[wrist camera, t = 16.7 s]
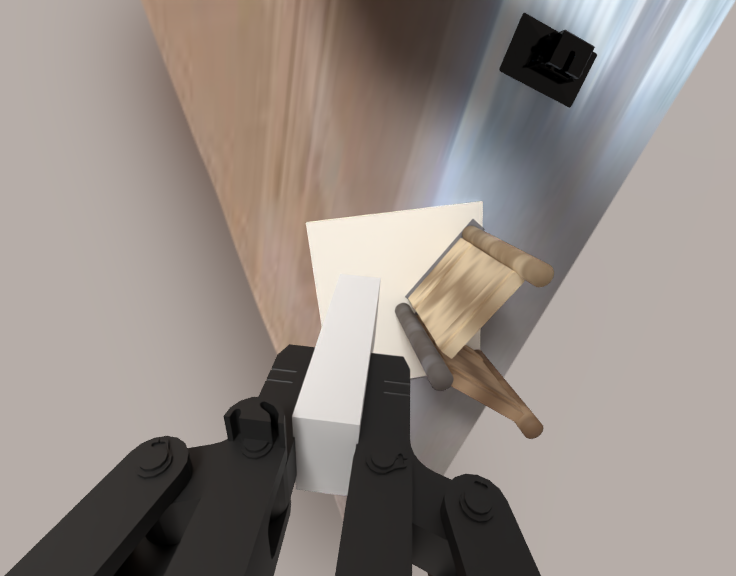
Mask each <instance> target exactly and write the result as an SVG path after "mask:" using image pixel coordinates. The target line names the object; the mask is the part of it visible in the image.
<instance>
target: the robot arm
mask: <svg viewBox="0 0 736 576" xmlns="http://www.w3.org/2000/svg"><path fill="white" fill-rule="evenodd" d="M380 281H381V278H375V277H366V276H356V275H347V274H340V275H339V278H338V281H337V284H336V287H335V290H334V293H333V296H332V299H331V302H330V305H329V308H328V311H327V314H326V317H325V320H324V323H323V326H322V329H321V332H320V335H319V338H318V341H317V344H316V347H307V346H298V345H290V344H289V345H288V346H287V347H286V348H285V349H284V350H282V351H281V352H280V353H279V354H278V355H277V357H276V359H275V362H274V364H273V366H272V370H271V371H270V373H269V375H268V377H267V381H265V384H264V386H263V388H262V390H261V393H260V395H259V397H251V398H248V399H245V400H241V401H239V402H238V403H236V404H235V405H233V406H232V407H230V409H229V410H228V411H227V413H226V414H225V415H224V421H225V425H226V431H227V436H228V439H227V440H225V441H222V442H220V443H215V444H211V445H205V446H199V447H192V448H187V447H186V444H185V443H184V442H183V441H181V440H180V439H178V438H176V437H170V436H164V437H157V438H153V439H151V440H148V441H146V442H144V443H142V444H140V445H139V446H138V447H136V448H135V449H134V450H132V451H131V452H130V453H129V454H128V455H127V456H126V457H125V458H124V459H123V460H122V461H121V462H120V463H119V464H118V465H117V466H116V467H115V468H114V469H113V470H112V471H111V472H110V473H109V474H108V475H107V476H105V477H104V478H103V479H102V481H100V482H99V483H98V484H97V485H96V486H95V487H94V488H93V489H92V490H91V491H90V492H89V493H88V494H87V495H86V496H85V497H84V498H83V499H82V500H81V501H80V502H79V503H78V504H77V505H76V506H75V507H74V508H73V509H72V510H71V511H70V512H69V513H68V514H67V515H66V516H65V517H64V518H63V519H62V520H61V521H60V522H59V523H58V524H57V525H56V526H55V527H54V528H53V529H52V530H51V531H50V532H48V534H46V535H45V537H43V538H42V539H41V540H40V541H39V542H38V543H37V544H36V545H35V546H34V547H33V548H32V549H31V550H30V551H29V552H28V553H27V554H26V555H25V556H24V557H23V558H22V559H21V560H20V561H19V562H18V563H17V564H16V565H15V566H14V567H13V568H12V569H11V570H10V571H9V572H8V573H7V574H6V575H5V576H274V572H275V569H276V565H277V561H278V557H279V554H280V550H281V546H282V542H283V538H284V535H285V531H286V527H287V524H288V519H289V516H290V510H291V494H292V490H293V487H294V483H295V480H296V489H298V490H305V491H314V492H320V493H328V494H335V495H342V496H347V501H346V507H345V514H344V521H343V527H342V535H341V541H340V547H339V554H338V560H337V567H336V573H335V576H412V564H413V565H415V566H417V567H419V568H421V569H423V570H424V571H426V572H428V576H541V575H540V573H539V571H538V568H537V566H536V564H535V562H534V560H533V557H532V555H531V553H530V550H529V548H528V546H527V544H526V542H525V540H524V537H523V535H522V533H521V531H520V528H519V526H518V524H517V522H516V519H515V517H514V515H513V513H512V510H511V508H510V506H509V504H508V501H507V500H506V498H505V497H504V495H503V494H502V492H501V490H500V489H499V488H498V487H496V486H495V485H494V484H493V483H492V482H491V481H490V480H488V479H485V478H483V477H480V476H479V475H472V474H463V475H460V476H457V477H455V478H454V479H453V480H451V479H449V478H446V477H444V476H442V475H440V474H438V473H435V472H434V471H432V470H430V469H428V468H427V467H425V466H424V465H423V464H422V463H421V462H420V461H419V460H418V459H417V457H416V456H415V455H414V453H413V450H412V448H411V444H410V368H409V366H408V364H407V362H406V360H405V358H404V357H403V356H394V355H386V354H377V353H373V351H374V343H375V335H376V324H377V313H378V303H379V292H380Z"/></svg>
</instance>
